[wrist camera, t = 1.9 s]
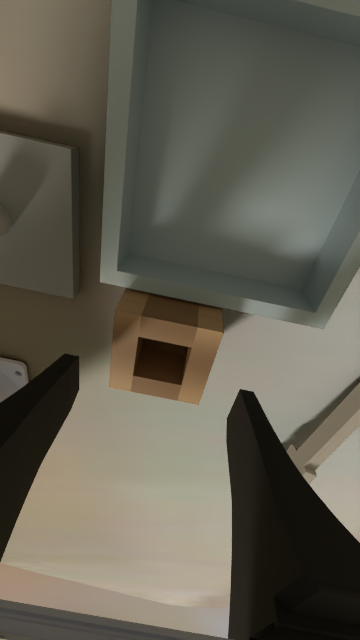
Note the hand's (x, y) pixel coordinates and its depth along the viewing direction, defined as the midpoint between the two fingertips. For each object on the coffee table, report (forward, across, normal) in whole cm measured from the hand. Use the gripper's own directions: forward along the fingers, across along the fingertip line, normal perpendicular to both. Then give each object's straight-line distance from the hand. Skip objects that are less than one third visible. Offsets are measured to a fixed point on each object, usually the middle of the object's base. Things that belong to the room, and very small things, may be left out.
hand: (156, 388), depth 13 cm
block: (+7, 0, 0) cm, 7 cm away
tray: (+7, -2, -8) cm, 11 cm away
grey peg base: (+7, +10, -4) cm, 13 cm away
